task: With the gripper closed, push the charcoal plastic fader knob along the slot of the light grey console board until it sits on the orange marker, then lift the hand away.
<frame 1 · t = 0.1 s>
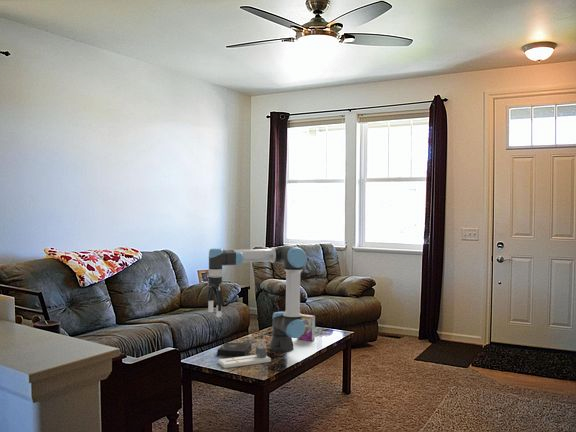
hand: (214, 314, 286), 28 cm above the table, fingers open, 13 cm apart
console board: (244, 362, 291), on the table
fader knob: (261, 351, 296), point 5 cm above the table, slide at 0.0 cm
candy bar box: (305, 340, 345), on the table
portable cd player: (234, 353, 311), on the table
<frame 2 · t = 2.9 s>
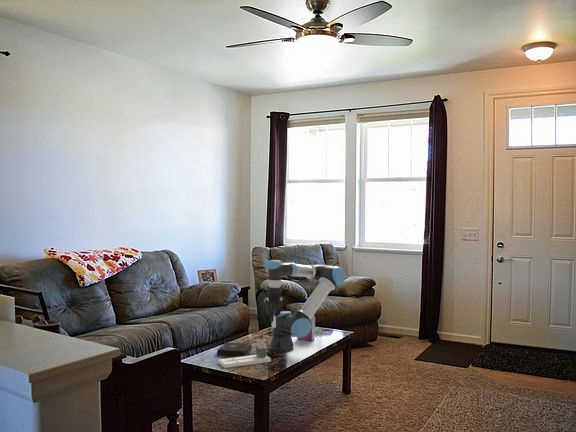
hand: (273, 327, 300), 18 cm above the table, fingers closed
nothing on the table moved.
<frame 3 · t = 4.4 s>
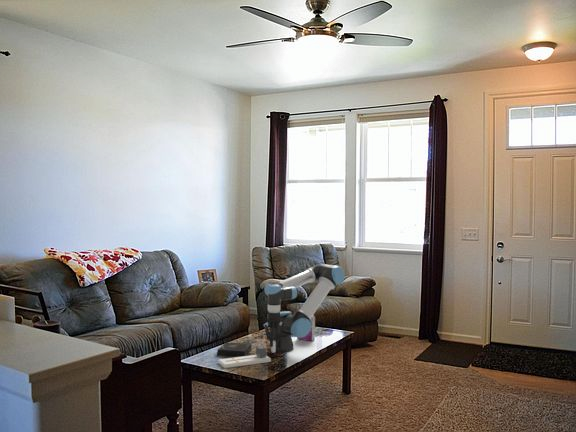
hand: (273, 351, 300), 4 cm above the table, fingers closed
nothing on the table moved.
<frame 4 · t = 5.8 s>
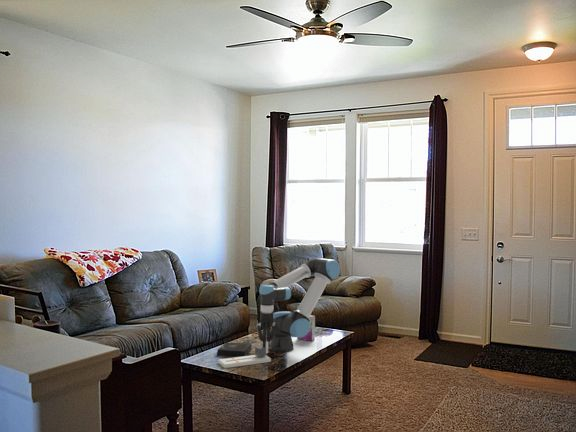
hand: (265, 352, 297), 4 cm above the table, fingers closed
fader knob: (260, 351, 296), point 5 cm above the table, slide at 0.6 cm, touching gripper
everything else where it was.
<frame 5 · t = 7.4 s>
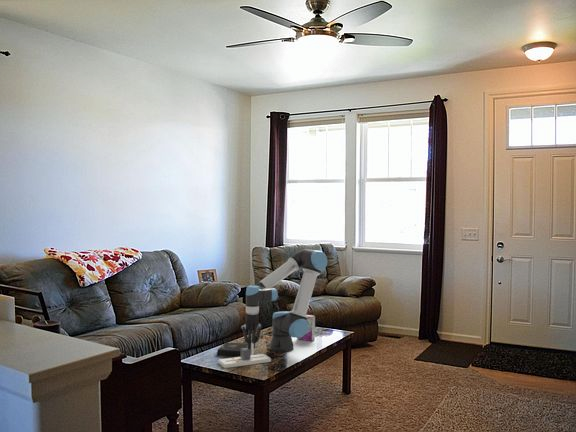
hand: (251, 354, 293), 4 cm above the table, fingers closed
fader knob: (245, 353, 292), point 5 cm above the table, slide at 9.8 cm, touching gripper
everything else where it was.
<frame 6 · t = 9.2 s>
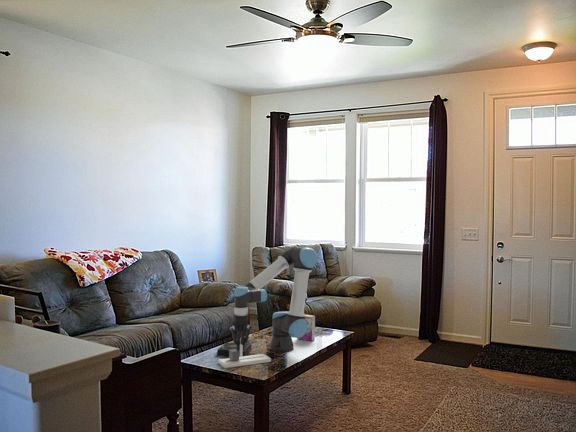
hand: (240, 356, 290), 4 cm above the table, fingers closed
fader knob: (234, 355, 288), point 5 cm above the table, slide at 16.7 cm, touching gripper
everything else where it was.
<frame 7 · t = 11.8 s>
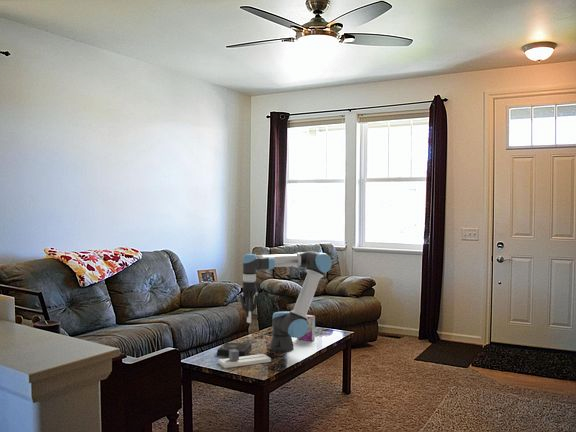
hand: (248, 322, 293), 22 cm above the table, fingers closed
fader knob: (233, 355, 288), point 5 cm above the table, slide at 16.8 cm
everything else where it was.
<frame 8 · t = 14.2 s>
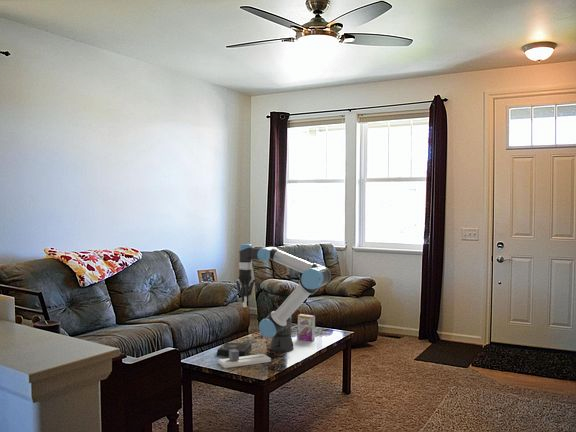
hand: (244, 306, 318), 26 cm above the table, fingers closed
nothing on the table moved.
at the end: fader knob slide at 16.8 cm; the gripper is holding nothing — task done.
